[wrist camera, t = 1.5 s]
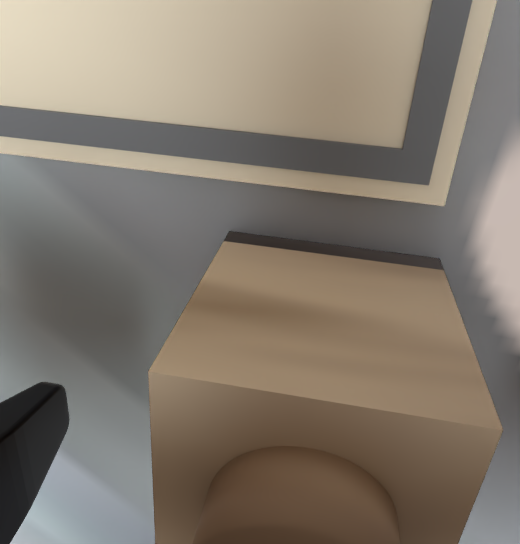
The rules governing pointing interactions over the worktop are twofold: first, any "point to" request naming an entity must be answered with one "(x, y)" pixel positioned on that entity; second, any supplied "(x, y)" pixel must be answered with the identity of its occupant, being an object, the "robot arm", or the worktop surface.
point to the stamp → (318, 401)
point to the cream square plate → (247, 89)
